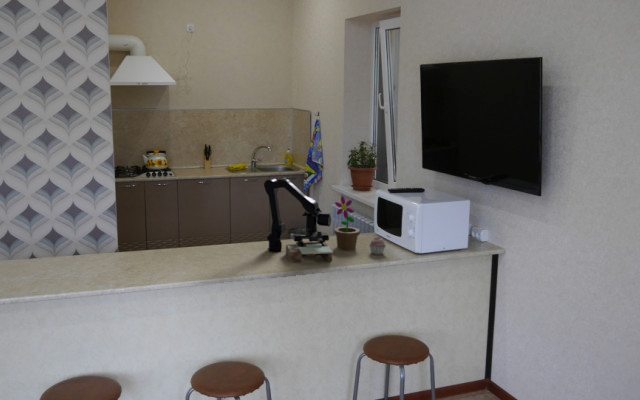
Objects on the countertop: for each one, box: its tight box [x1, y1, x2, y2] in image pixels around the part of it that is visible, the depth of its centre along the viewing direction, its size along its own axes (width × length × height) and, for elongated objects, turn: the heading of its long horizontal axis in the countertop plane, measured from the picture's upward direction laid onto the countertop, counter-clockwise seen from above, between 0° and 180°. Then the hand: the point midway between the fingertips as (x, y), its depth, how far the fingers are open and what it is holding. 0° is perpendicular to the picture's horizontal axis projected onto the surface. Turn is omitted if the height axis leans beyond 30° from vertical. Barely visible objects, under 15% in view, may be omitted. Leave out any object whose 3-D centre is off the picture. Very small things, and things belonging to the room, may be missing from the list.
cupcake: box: [368, 235, 387, 256], centre depth 320 cm, size 9×9×10 cm
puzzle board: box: [285, 240, 333, 263], centre depth 311 cm, size 22×18×6 cm
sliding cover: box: [298, 244, 334, 255], centre depth 301 cm, size 16×10×2 cm, turn 103°
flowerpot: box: [333, 195, 361, 251], centre depth 327 cm, size 14×14×30 cm
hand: (310, 252), depth 314 cm, fingers open, 8 cm apart
